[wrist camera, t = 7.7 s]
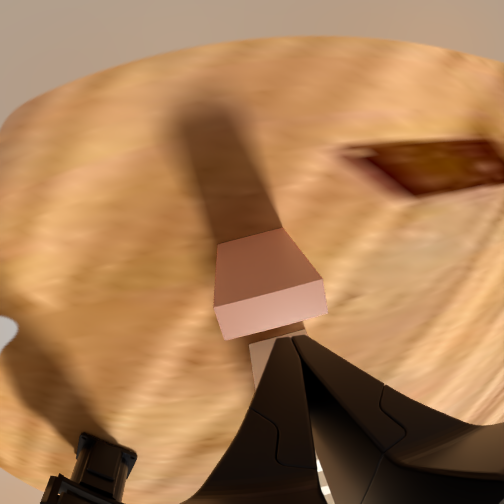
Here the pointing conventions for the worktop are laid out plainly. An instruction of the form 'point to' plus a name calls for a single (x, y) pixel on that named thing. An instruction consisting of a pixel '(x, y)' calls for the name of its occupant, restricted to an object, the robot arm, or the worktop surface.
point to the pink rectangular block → (265, 285)
